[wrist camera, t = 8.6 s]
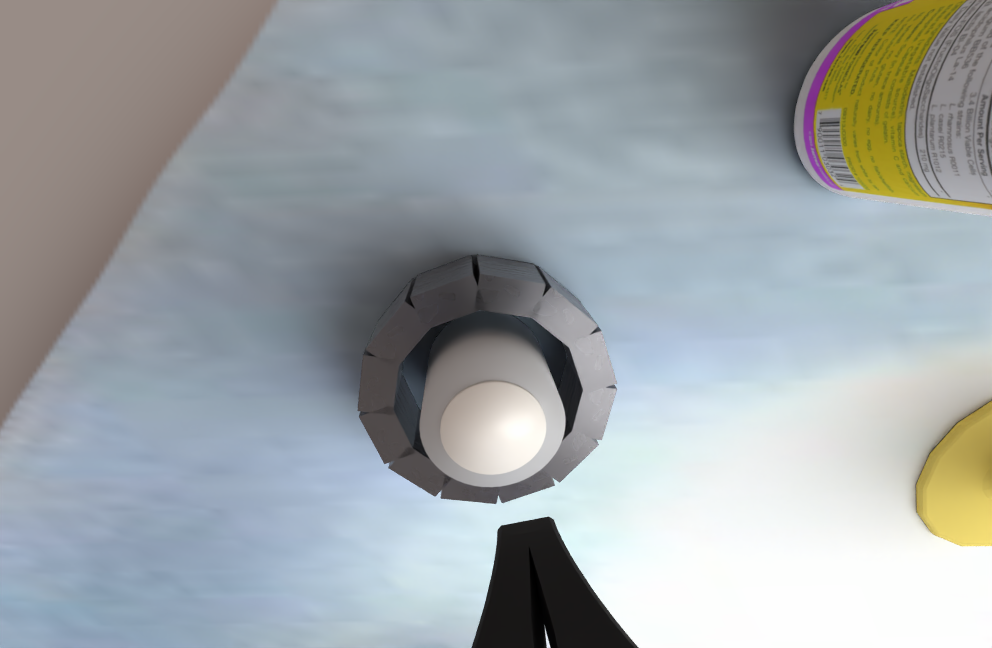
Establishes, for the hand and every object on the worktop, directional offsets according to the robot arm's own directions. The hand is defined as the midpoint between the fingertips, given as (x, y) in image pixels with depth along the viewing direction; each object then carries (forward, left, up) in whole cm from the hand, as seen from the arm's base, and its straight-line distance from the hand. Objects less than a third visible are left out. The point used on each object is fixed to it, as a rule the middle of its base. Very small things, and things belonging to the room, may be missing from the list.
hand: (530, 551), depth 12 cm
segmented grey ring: (0, +1, -10) cm, 10 cm away
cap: (0, +1, -10) cm, 10 cm away
